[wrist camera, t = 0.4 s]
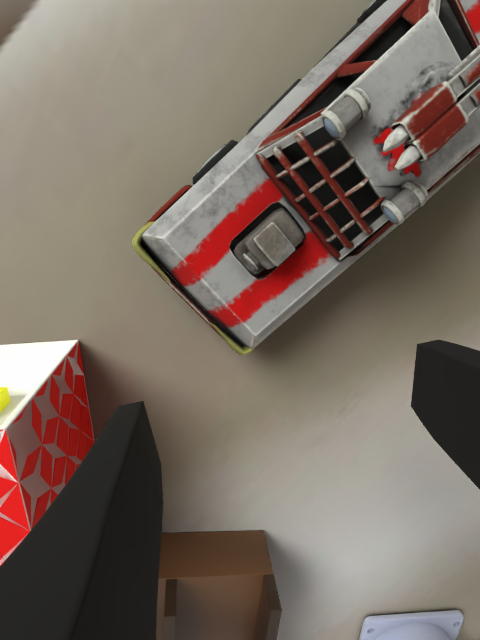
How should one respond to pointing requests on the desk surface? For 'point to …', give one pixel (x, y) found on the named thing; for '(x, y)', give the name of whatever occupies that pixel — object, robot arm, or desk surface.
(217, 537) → the divided wooden tray
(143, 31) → the desk surface
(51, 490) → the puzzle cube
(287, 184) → the toy car
